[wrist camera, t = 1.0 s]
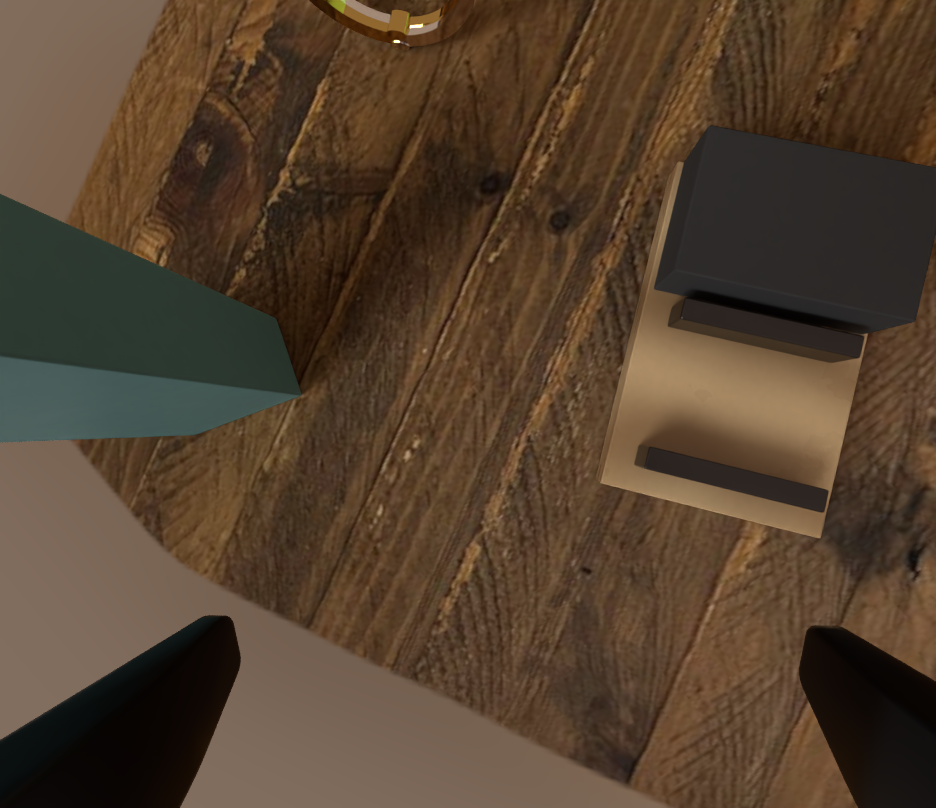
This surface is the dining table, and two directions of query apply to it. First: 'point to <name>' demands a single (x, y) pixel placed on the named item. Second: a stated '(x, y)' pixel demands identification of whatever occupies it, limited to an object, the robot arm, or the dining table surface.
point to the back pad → (121, 341)
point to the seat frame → (763, 322)
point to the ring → (398, 22)
